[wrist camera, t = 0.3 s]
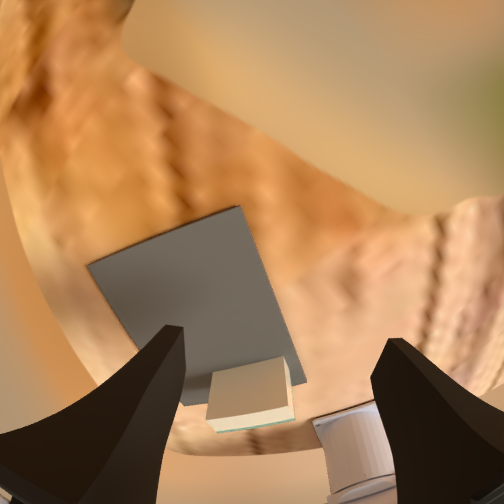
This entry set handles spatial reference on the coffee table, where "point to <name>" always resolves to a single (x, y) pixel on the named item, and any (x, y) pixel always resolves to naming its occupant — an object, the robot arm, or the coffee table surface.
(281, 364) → the tile
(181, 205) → the coffee table surface
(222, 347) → the mat
